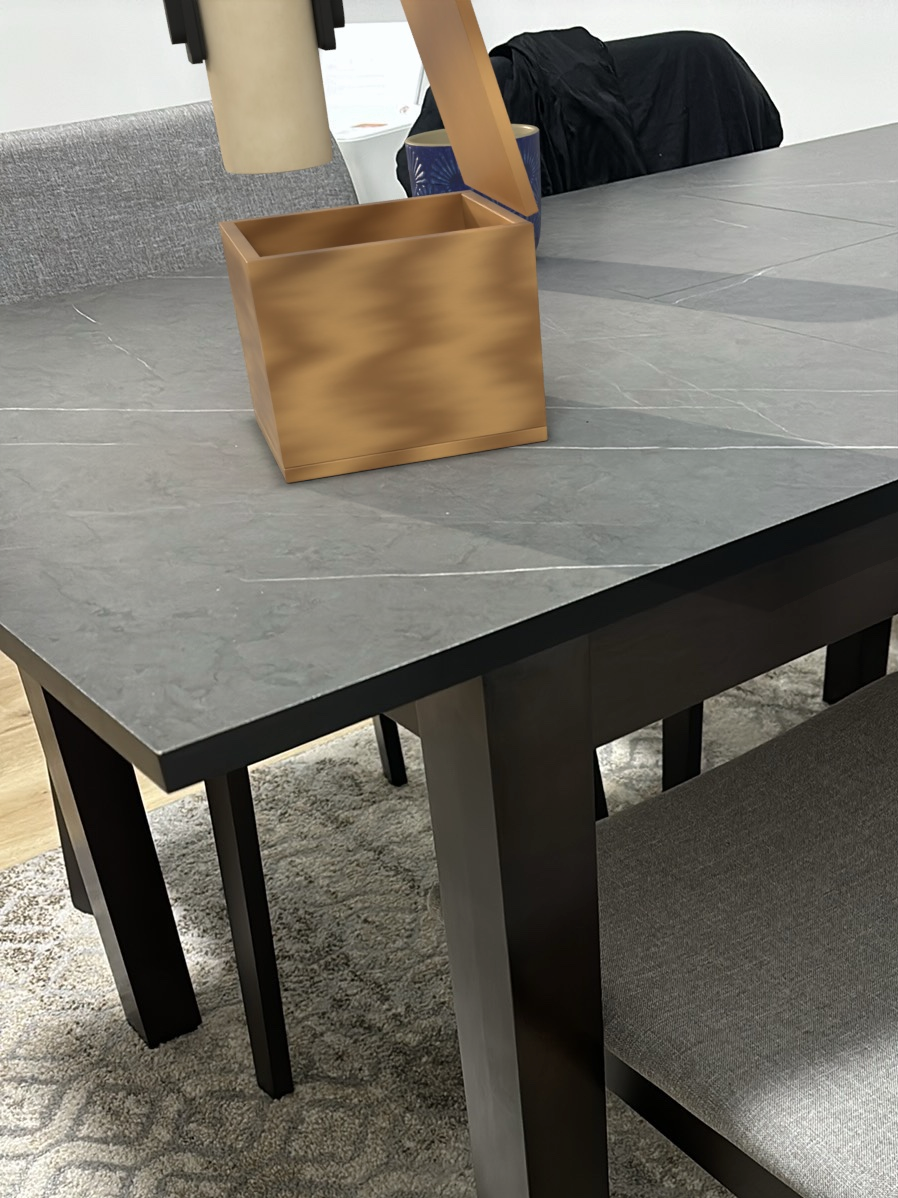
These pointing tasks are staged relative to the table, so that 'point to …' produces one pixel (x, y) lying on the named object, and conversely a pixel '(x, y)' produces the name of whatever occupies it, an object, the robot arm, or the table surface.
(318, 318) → the chest
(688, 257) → the table surface
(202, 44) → the robot arm
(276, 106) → the candle
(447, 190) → the planter
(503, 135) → the lid
